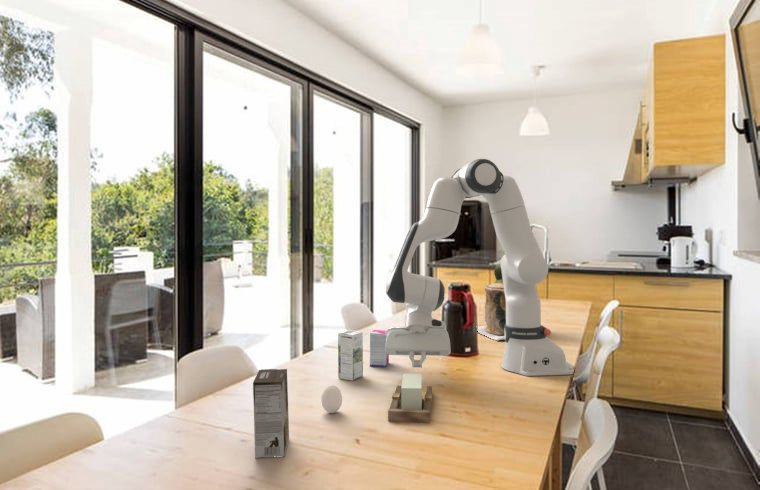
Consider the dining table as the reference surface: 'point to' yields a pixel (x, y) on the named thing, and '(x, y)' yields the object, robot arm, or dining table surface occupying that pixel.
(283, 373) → the coffee box
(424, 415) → the slot track
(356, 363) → the syrup box
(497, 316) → the cookie jar
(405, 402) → the block
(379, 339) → the supplement box
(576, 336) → the dining table surface
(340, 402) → the egg
